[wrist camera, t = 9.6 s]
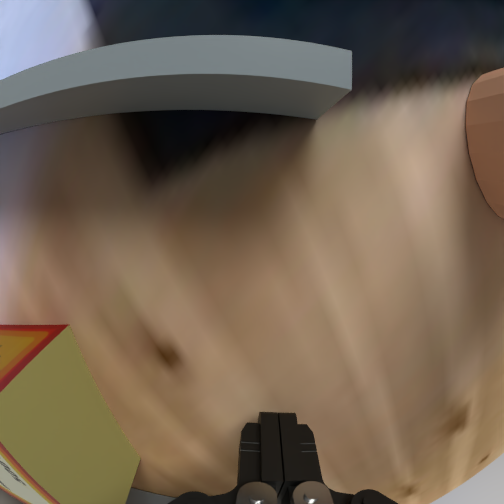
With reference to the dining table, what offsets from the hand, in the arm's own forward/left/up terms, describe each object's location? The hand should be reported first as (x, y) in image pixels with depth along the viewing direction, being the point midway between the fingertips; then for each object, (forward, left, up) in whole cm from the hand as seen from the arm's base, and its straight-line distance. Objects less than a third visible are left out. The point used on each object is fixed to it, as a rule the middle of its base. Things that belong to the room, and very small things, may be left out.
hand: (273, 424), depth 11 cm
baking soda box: (+1, -8, +2) cm, 8 cm away
